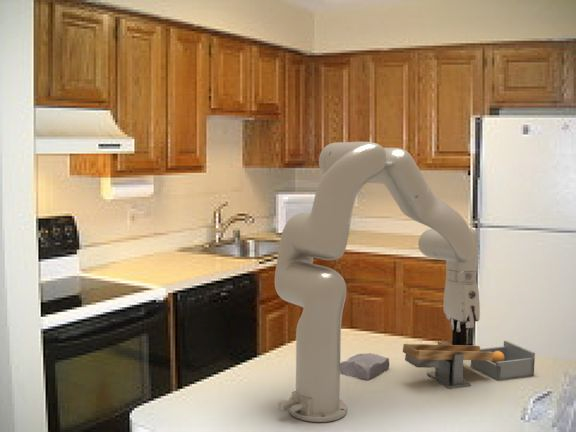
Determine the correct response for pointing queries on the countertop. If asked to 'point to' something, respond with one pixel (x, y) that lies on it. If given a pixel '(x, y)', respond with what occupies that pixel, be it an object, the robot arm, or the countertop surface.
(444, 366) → the fulcrum
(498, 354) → the ball
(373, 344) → the countertop surface
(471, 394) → the countertop surface
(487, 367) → the tray
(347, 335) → the countertop surface
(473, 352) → the seesaw
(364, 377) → the stone block
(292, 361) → the countertop surface
